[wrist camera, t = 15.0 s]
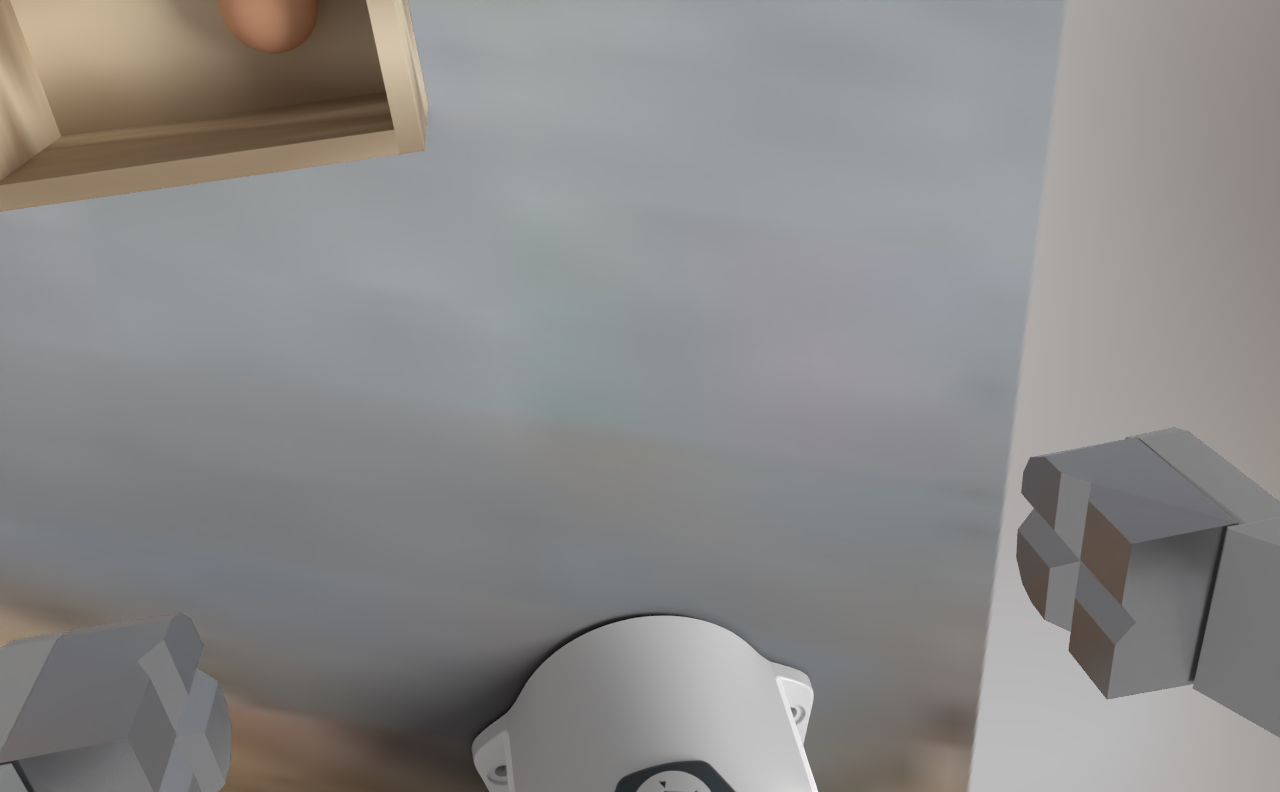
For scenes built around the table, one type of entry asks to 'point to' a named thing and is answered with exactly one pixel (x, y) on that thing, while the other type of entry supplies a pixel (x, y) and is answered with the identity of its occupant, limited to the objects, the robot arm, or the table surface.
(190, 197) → the table surface
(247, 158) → the box
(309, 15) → the ball terracotta
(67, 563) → the table surface
